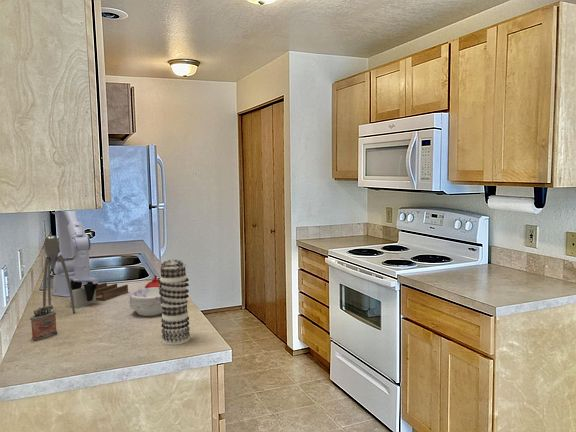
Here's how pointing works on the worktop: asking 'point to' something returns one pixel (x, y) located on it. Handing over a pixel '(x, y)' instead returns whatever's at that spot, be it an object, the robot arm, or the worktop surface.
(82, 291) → the clay block
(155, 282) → the pomegranate
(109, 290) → the rack
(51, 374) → the worktop surface
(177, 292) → the white tower model
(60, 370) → the worktop surface
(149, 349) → the worktop surface
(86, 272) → the robot arm
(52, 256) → the juicer
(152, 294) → the white bowl
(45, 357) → the worktop surface
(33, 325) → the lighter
